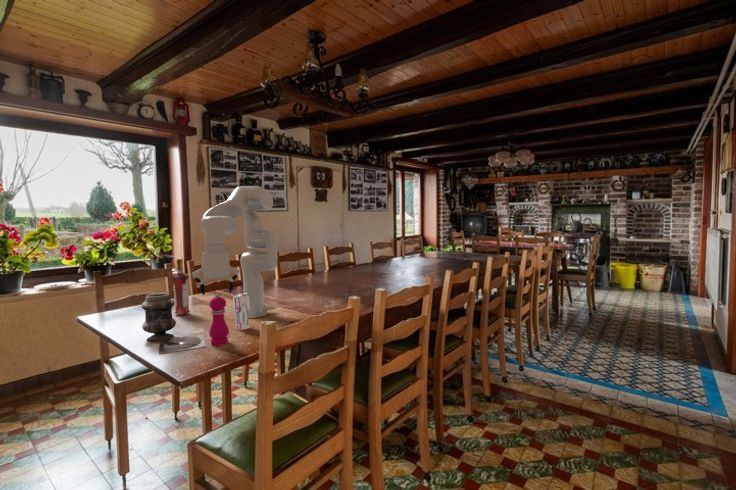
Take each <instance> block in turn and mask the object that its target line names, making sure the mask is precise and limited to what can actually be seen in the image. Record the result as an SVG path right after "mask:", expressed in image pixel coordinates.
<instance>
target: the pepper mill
mask: <svg viewBox="0 0 736 490" xmlns="http://www.w3.org/2000/svg"><path fill="white" fill-rule="evenodd" d="M214 296H215V297H213V298H211V300H210V301H209V307H210V309H211V310H210V311H211V315H212V324H211V325H210V328H209V333H208V334H209V337H210V338H211V340H210V345H211V346H213V347H222V346H225V345H227V344H228V343H229V338H228V335H229V333H230V329H229V326H228V325H227V323H226V321H225V320H226V319H225V313H226V309H225V307H226V306H227V301H226V298H224V297H222V296H221V293H218V292H217V293H215V295H214ZM221 345H222V346H221Z"/></svg>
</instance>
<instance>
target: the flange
mask: <svg viewBox="0 0 736 490" xmlns="http://www.w3.org/2000/svg"><path fill="white" fill-rule="evenodd" d="M206 347H207V344H206V340H205V337H204V334H197V335H189V336H180V337H175V338H174V337H173V338H171V339H168V340H165V341H159V347H158V355H162V354H163V355H164V354H171V353H178V352H182V351H190V350H196V349H202V348H206Z"/></svg>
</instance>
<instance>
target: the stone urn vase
mask: <svg viewBox="0 0 736 490" xmlns="http://www.w3.org/2000/svg"><path fill="white" fill-rule="evenodd" d="M173 307H175V299H174V298H171V295H170V293H168V292H167V293H165V292H164V293H163V292H162V293H152V294H151V293H150V294H148V295H146V296H145V300H144V301H143V302H142V303H141V308H142V310H144V313H145V317H144V319H145V321H144V322H143V323H142V325H141V328H142V330H143V331H144V332H146V333H150V334H152V335H151V336H149V337H147V338H146V342H149V343H157V342H159V343H160V341H165V340H168V339H174V336H175V335H174V334H172V333H168V332H169V331H170V330H172V329H173V328H174V327H176V325H177V321H176V319H174V317H173V310H172V308H173Z"/></svg>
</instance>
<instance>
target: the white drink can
mask: <svg viewBox="0 0 736 490" xmlns="http://www.w3.org/2000/svg"><path fill="white" fill-rule="evenodd" d="M249 307H250V303H249V294H246V293H244V292H242V293H235V294H233V295H232V310H233V314H234V318H235V319H234V320H235V325H234V330H236V331H245V330H248V329H250V324H249V318H248V315H249Z"/></svg>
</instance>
